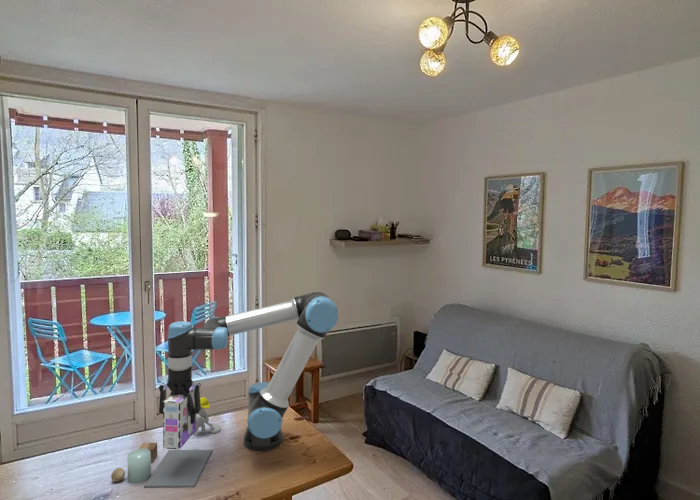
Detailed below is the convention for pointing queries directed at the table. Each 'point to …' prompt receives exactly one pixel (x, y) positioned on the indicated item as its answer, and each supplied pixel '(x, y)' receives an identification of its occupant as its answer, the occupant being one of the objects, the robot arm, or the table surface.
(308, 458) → the table surface
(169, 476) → the felt mat
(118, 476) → the cork ball
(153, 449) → the walnut block
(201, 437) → the table surface
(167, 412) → the candy box
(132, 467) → the pale green rounded cylinder
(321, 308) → the robot arm
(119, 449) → the table surface
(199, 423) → the figurine
